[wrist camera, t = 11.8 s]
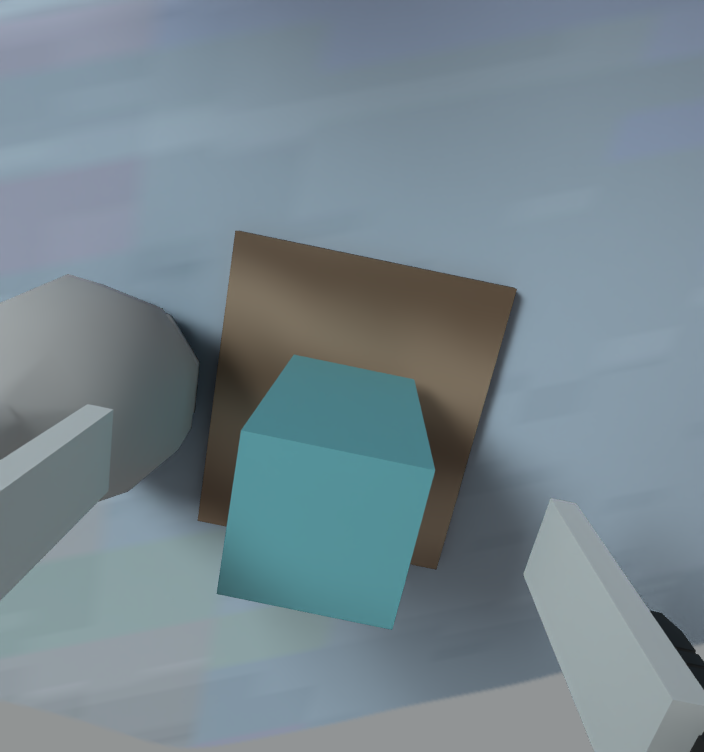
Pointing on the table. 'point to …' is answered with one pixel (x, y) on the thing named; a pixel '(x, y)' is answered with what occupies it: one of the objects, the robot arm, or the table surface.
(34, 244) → the table surface
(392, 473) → the teal boxy block
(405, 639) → the table surface
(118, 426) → the potion bottle
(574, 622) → the robot arm
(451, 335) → the board
